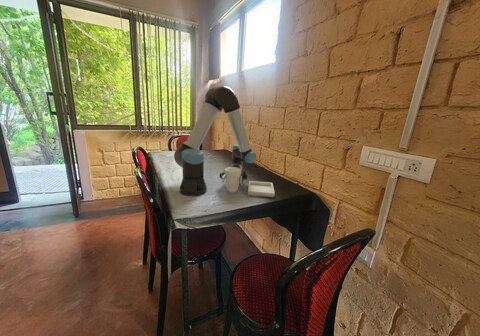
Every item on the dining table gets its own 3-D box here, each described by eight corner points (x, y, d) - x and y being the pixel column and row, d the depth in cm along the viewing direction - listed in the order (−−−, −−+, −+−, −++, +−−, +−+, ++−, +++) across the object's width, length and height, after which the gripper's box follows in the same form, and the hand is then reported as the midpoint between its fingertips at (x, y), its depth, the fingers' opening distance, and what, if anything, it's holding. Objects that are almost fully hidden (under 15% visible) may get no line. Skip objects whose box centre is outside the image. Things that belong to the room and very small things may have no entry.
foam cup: (238, 194, 115) (239, 172, 112) (222, 192, 117) (223, 170, 113) (241, 188, 124) (242, 168, 121) (226, 186, 126) (227, 166, 122)
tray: (247, 195, 114) (247, 191, 113) (248, 184, 131) (249, 181, 131) (274, 197, 113) (274, 193, 112) (272, 186, 130) (272, 182, 130)
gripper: (251, 176, 136) (250, 188, 114) (219, 174, 137) (212, 185, 116) (252, 165, 134) (251, 175, 112) (219, 163, 135) (212, 173, 114)
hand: (231, 180), depth 114 cm, fingers closed on foam cup, 9 cm apart
